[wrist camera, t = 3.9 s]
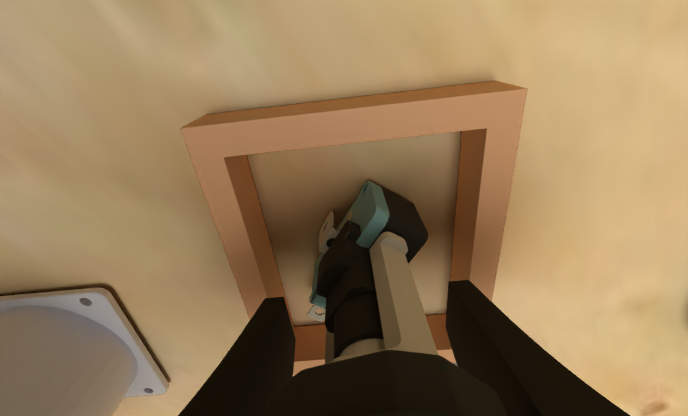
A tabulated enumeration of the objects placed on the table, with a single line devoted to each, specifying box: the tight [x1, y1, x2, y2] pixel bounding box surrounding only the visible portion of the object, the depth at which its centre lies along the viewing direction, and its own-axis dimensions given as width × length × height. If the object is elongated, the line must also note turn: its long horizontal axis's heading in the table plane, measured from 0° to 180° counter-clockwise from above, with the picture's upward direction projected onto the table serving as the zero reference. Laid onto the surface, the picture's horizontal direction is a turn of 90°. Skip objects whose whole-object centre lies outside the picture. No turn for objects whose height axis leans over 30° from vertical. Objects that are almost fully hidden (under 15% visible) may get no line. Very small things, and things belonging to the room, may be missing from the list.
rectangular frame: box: [180, 81, 528, 375], centre depth 12 cm, size 10×12×2 cm
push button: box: [265, 180, 508, 416], centre depth 9 cm, size 7×5×10 cm
